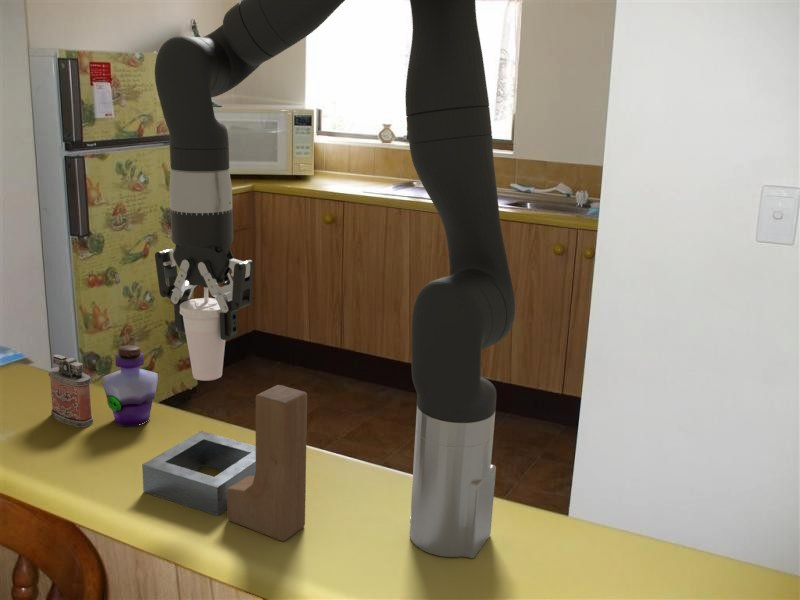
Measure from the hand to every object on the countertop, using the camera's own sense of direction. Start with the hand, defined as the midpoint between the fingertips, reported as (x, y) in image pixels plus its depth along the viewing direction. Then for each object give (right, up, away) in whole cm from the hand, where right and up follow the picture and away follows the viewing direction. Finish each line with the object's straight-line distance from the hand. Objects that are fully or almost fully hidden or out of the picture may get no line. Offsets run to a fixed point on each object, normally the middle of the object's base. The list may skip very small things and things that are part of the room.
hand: (206, 334), depth 109 cm
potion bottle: (-17, -15, +23) cm, 32 cm away
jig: (-1, -20, +5) cm, 21 cm away
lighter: (-26, -14, +23) cm, 37 cm away
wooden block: (+8, -24, -4) cm, 25 cm away
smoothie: (0, -6, +2) cm, 6 cm away
